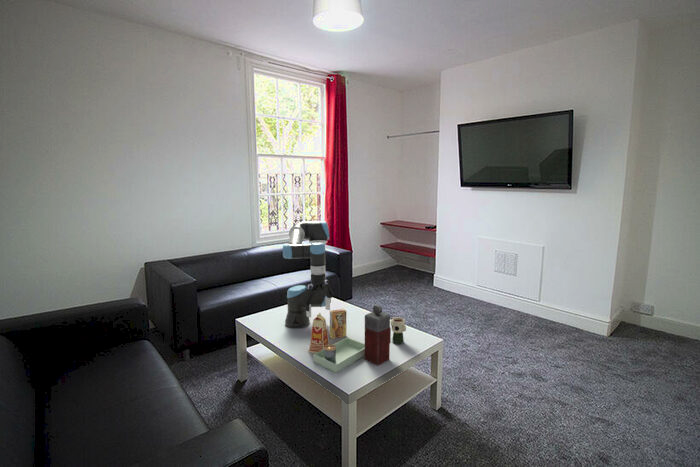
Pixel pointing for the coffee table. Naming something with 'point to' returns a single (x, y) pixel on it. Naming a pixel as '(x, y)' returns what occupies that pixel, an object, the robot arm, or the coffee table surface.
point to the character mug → (398, 329)
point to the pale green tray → (341, 355)
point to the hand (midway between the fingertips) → (318, 313)
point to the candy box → (337, 323)
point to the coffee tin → (330, 353)
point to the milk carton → (318, 334)
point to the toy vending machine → (377, 336)
